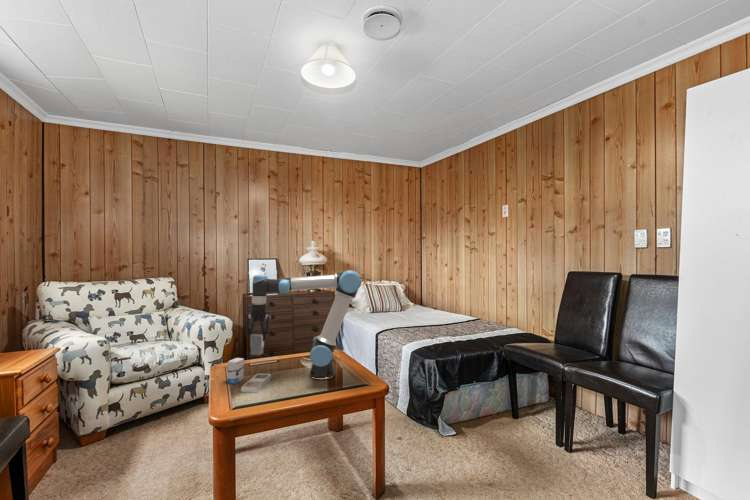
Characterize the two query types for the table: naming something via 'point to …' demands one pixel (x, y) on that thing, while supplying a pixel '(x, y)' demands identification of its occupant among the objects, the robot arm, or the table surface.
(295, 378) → the table surface
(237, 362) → the ink box
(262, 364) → the table surface
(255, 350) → the grey rectangular block
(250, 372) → the table surface
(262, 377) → the white piece
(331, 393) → the table surface
